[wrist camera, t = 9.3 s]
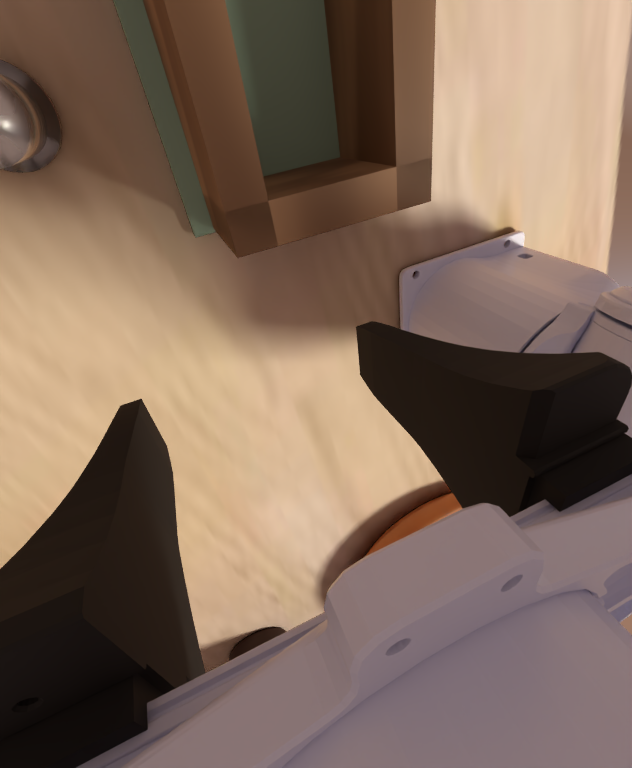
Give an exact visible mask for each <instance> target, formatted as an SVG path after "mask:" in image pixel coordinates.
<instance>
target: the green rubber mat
mask: <svg viewBox="0 0 632 768" xmlns="http://www.w3.org/2000/svg"><path fill="white" fill-rule="evenodd" d="M113 1H114V4H115V7H116V10H117V13H118V16H119V19H120V22H121V25H122V28H123V30H124V33H125V36H126V39H127V42H128V45H129V48H130V51H131V54H132V57H133V59H134V62H135V65H136V68H137V71H138V74H139V77H140V80H141V83H142V85H143V88H144V91H145V94H146V97H147V100H148V103H149V106H150V109H151V112H152V114H153V117H154V120H155V123H156V126H157V129H158V132H159V135H160V138H161V140H162V143H163V146H164V149H165V152H166V155H167V158H168V161H169V164H170V167H171V169H172V172H173V175H174V178H175V181H176V184H177V187H178V190H179V193H180V196H181V198H182V201H183V204H184V207H185V210H186V213H187V216H188V219H189V222H190V224H191V227H192V230H193V233H194V235H195V237H200V236H204V235H207V234H211V233H214V232H216V231H215V230H214V228H213V225H212V221H211V218H210V215H209V212H208V209H207V205H206V202H205V199H204V196H203V193H202V189H201V186H200V183H199V180H198V176H197V173H196V170H195V167H194V164H193V160H192V157H191V154H190V151H189V148H188V144H187V141H186V138H185V135H184V132H183V128H182V125H181V122H180V119H179V115H178V112H177V109H176V106H175V103H174V99H173V96H172V93H171V90H170V87H169V83H168V80H167V77H166V74H165V71H164V67H163V64H162V61H161V58H160V54H159V51H158V48H157V45H156V42H155V38H154V35H153V32H152V29H151V26H150V22H149V19H148V16H147V13H146V10H145V6H144V3H143V0H113ZM225 3H226V8H227V12H228V17H229V21H230V26H231V31H232V35H233V40H234V44H235V49H236V54H237V58H238V63H239V67H240V72H241V77H242V81H243V86H244V90H245V95H246V100H247V104H248V109H249V113H250V118H251V123H252V127H253V132H254V136H255V141H256V146H257V150H258V155H259V159H260V164H261V169H262V173H263V176H267V175H271V174H275V173H279V172H283V171H287V170H291V169H295V168H299V167H303V166H307V165H311V164H315V163H319V162H323V161H327V160H331V159H335V158H339V157H340V150H339V141H338V131H337V121H336V112H335V102H334V92H333V83H332V73H331V64H330V54H329V44H328V35H327V25H326V15H325V6H324V0H225Z"/></svg>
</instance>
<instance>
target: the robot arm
mask: <svg viewBox="0 0 632 768" xmlns="http://www.w3.org/2000/svg"><path fill="white" fill-rule="evenodd" d="M524 239H525V234H524V233H523V232H521V231H515V232H512V233H509V234H506V235H503V236H500V237H497V238H494V239H491V240H488V241H485V242H482V243H479V244H476V245H473V246H470V247H467V248H464V249H461V250H458V251H455V252H452V253H449V254H446V255H443V256H440V257H437V258H434V259H431V260H428V261H425V262H422V263H419V264H416V265H413V266H410V267H407V268H405V269H403V270H402V271H401V273H400V275H399V293H400V329H398V328H395V327H392V326H389V325H385V324H382V323H378V322H373V321H372V322H369V323H366V324H363V325H360V326H357V327H356V330H357V342H358V354H359V366H360V375H361V377H362V378H363V380H364V381H365V383H366V384H367V386H368V387H369V389H370V390H371V392H372V393H373V395H374V396H375V397H376V398H377V399H378V401H379V402H380V403H381V404H382V405H383V406H384V407H385V408H386V409H387V410H388V412H389V413H390V414H391V415H392V416H393V417H394V418H395V419H396V420H397V421H398V422H399V423H400V425H401V426H402V427H403V428H404V429H405V430H406V431H407V432H408V433H409V434H410V435H411V436H412V438H413V439H414V440H415V441H416V442H417V444H418V445H419V446H420V447H421V449H422V450H423V451H424V453H425V454H426V455H427V457H428V458H429V460H430V461H431V462H432V464H433V465H434V466H435V468H436V469H437V471H438V472H439V474H440V475H441V477H442V478H443V479H444V481H445V482H446V484H447V485H448V487H449V488H450V490H451V491H452V493H453V494H454V496H455V497H456V499H457V501H458V502H459V504H460V505H461V507H462V508H463V509H461V510H459V511H457V512H455V513H453V514H451V515H449V516H447V517H445V518H443V519H441V520H439V521H437V522H435V523H433V524H431V525H428V526H426V527H424V528H422V529H420V530H418V531H416V532H414V533H412V534H410V535H408V536H406V537H404V538H402V539H400V540H398V541H396V542H394V543H392V544H390V545H388V546H386V547H384V548H381V549H379V550H377V551H375V552H373V553H371V554H369V555H367V556H365V557H364V558H362V559H361V560H359V561H357V562H356V563H354V564H353V565H351V566H350V567H348V568H347V569H345V570H344V571H343V572H342V573H341V574H340V575H339V577H338V578H337V579H336V580H335V581H334V582H333V583H332V585H331V586H330V587H329V589H328V592H327V595H326V600H325V605H324V611H325V612H324V613H322V614H320V615H318V616H316V617H314V618H312V619H310V620H308V621H306V622H304V623H302V624H300V625H299V626H297V627H295V628H293V629H291V630H289V631H287V632H285V633H283V634H281V635H279V636H277V637H275V638H273V639H271V640H269V641H267V642H265V643H263V644H261V645H259V646H258V647H256V648H254V649H252V650H250V651H248V652H246V653H244V654H242V655H240V656H238V657H236V658H234V659H232V660H230V661H228V662H226V663H224V664H222V665H220V666H219V667H217V668H215V669H213V670H211V671H209V672H207V673H205V669H204V665H203V661H202V657H201V653H200V648H199V644H198V640H197V635H196V631H195V626H194V622H193V617H192V613H191V608H190V603H189V598H188V593H187V588H186V584H185V579H184V573H183V568H182V563H181V557H180V552H179V545H178V536H177V522H176V508H175V494H174V481H173V471H172V467H171V462H170V457H169V453H168V449H167V445H166V443H165V442H164V440H163V438H162V436H161V434H160V432H159V431H158V429H157V427H156V425H155V423H154V421H153V419H152V418H151V416H150V414H149V412H148V410H147V408H146V406H145V405H144V403H143V401H142V399H139V400H136V401H133V402H130V403H127V404H124V405H121V406H120V408H119V409H118V411H117V413H116V415H115V417H114V419H113V421H112V422H111V424H110V426H109V428H108V430H107V432H106V434H105V436H104V438H103V439H102V441H101V443H100V445H99V446H98V448H97V450H96V452H95V454H94V455H93V457H92V458H91V460H90V462H89V463H88V465H87V466H86V468H85V469H84V471H83V473H82V474H81V476H80V477H79V479H78V480H77V482H76V483H75V485H74V486H73V488H72V489H71V490H70V492H69V493H68V494H67V496H66V497H65V498H64V500H63V501H62V502H61V503H60V505H59V506H58V507H57V508H56V510H55V511H54V512H53V513H52V515H51V516H50V517H49V518H48V519H47V520H46V521H45V523H44V524H43V525H42V526H41V527H40V528H39V529H38V530H37V531H36V533H35V534H34V535H33V536H32V537H31V538H30V539H29V540H28V542H27V543H26V544H25V545H24V546H23V547H22V548H21V549H20V550H19V551H18V552H17V553H16V554H15V555H14V556H13V557H12V558H11V559H10V560H9V561H8V562H7V563H6V564H5V565H4V566H3V567H2V568H1V569H0V768H632V635H631V634H630V633H629V632H628V631H627V630H626V629H625V628H624V627H623V626H622V625H621V624H620V622H622V621H623V620H624V619H626V618H627V617H628V616H630V615H631V614H632V287H629V286H623V287H620V286H619V285H618V284H617V283H616V282H615V281H614V280H613V279H612V278H611V277H609V276H608V275H606V274H604V273H603V272H600V271H598V270H595V269H592V268H589V267H586V266H583V265H580V264H576V263H573V262H570V261H567V260H564V259H561V258H558V257H554V256H551V255H548V254H545V253H542V252H539V251H535V250H532V249H529V248H526V247H523V245H524ZM504 243H505V244H504ZM415 271H416V274H415V275H414V276H413V273H414V272H415Z"/></svg>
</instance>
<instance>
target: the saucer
mask: <svg viewBox="0 0 632 768" xmlns="http://www.w3.org/2000/svg"><path fill="white" fill-rule="evenodd" d="M461 509H463V508H462V507H461V505H460V504H459V502H458V501H457V499H456V497H455V496H454V494H453V493H450V494H446V495H443V496H441V497H438V498H436V499H433V500H431V501H429V502H427V503H425V504H423V505H421V506H420V507H418V508H416V509H415V510H413V511H411V512H410V513H408V514H407V515H405V516H404V517H403V518H401V519H400V520H399V521H397V522H396V523H395V524H394V525H392V526H391V527H390V528H389V529H388V530H387V531H386V532H385V533H384V534H383V535H382V536H381V537H380V538H379V539H378V540H377V541H376V542H375V544H374V545H373V546H372V547H371V549H370V550H369V551H368V553H367V554H366V556H367V555H369V554H371V553H373V552H375V551H377V550H379V549H381V548H384V547H386V546H388V545H390V544H392V543H394V542H396V541H398V540H400V539H402V538H404V537H406V536H408V535H410V534H412V533H414V532H416V531H418V530H420V529H422V528H424V527H426V526H428V525H431V524H433V523H435V522H437V521H439V520H441V519H443V518H445V517H447V516H449V515H451V514H453V513H455V512H457V511H459V510H461Z"/></svg>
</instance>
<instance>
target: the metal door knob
mask: <svg viewBox="0 0 632 768" xmlns="http://www.w3.org/2000/svg"><path fill="white" fill-rule="evenodd" d="M61 139H62V130H61V123H60V120H59V116H58V114H57V111H56V109H55V107H54V105H53V103H52V101H51V100H50V98H49V97H48V95H47V94H46V93H45V91H44V90H43V89H42V88H41V87H40V86H39V85H38V84H37V83H36V81H34V80H33V79H32V78H31V77H30V76H29V75H27V74H26V73H24V72H23V71H22V70H20V69H18V68H17V67H15V66H13V65H11V64H9V63H7V62H5V61H3V60H0V169H3V170H7V171H11V172H32V171H35V170H39V169H41V168H43V167H45V166H46V165H48V164H49V163H50V162H51V161H52V160H53V159H54V158H55V156H56V155H57V153H58V151H59V149H60V145H61Z"/></svg>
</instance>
